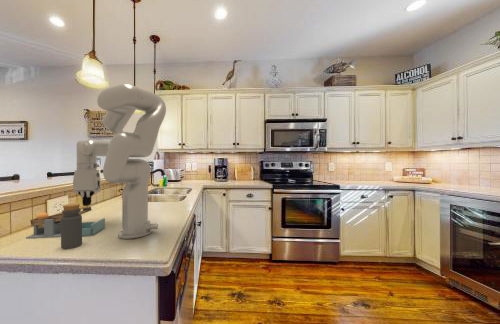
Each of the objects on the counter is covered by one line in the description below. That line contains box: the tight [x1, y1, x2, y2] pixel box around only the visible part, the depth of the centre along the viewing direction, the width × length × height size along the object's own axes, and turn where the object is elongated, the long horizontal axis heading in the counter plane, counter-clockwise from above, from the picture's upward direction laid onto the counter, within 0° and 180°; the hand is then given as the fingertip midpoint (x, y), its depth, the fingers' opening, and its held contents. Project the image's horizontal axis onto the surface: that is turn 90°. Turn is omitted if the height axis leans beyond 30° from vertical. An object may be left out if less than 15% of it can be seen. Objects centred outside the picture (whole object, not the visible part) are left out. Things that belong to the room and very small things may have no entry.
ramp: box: [29, 206, 93, 228], centre depth 94 cm, size 15×16×4 cm
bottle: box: [60, 202, 83, 250], centre depth 77 cm, size 6×6×15 cm
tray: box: [82, 217, 106, 237], centre depth 91 cm, size 9×10×4 cm
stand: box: [25, 219, 61, 239], centre depth 89 cm, size 14×9×7 cm, turn 99°
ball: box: [36, 211, 49, 220], centre depth 88 cm, size 4×4×4 cm
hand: (86, 205), depth 101 cm, fingers closed
